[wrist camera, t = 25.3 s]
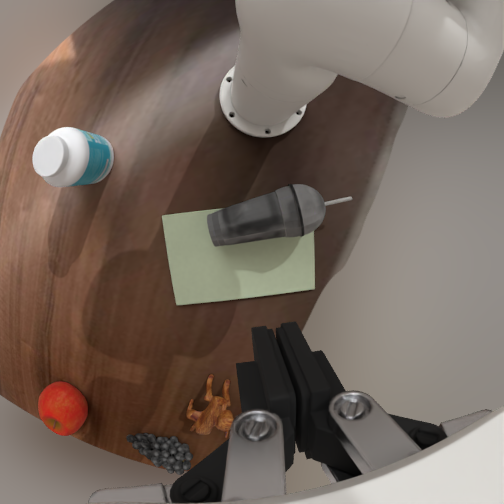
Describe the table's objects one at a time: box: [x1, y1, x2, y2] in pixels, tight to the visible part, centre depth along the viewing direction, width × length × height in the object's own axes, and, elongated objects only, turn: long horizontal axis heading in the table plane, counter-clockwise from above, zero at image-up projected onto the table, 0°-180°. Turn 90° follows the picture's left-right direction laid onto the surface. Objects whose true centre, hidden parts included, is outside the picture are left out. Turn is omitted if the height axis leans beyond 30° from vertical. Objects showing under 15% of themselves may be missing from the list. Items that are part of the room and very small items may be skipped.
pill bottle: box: [33, 127, 114, 187], centre depth 31 cm, size 8×7×14 cm
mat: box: [162, 208, 315, 305], centre depth 44 cm, size 14×22×1 cm, turn 95°
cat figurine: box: [186, 374, 233, 438], centre depth 44 cm, size 18×7×14 cm, turn 154°
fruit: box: [127, 433, 193, 475], centre depth 49 cm, size 9×8×15 cm
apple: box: [38, 381, 88, 436], centre depth 42 cm, size 11×11×11 cm
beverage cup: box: [207, 184, 352, 247], centre depth 39 cm, size 7×7×20 cm
